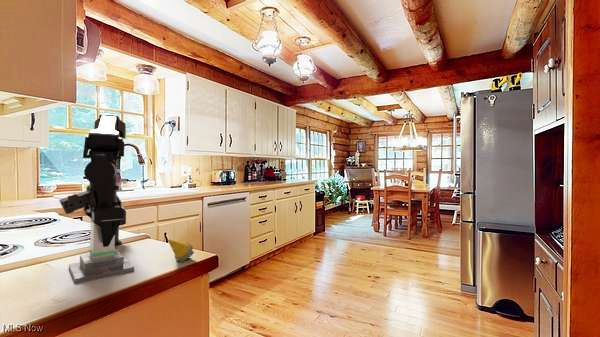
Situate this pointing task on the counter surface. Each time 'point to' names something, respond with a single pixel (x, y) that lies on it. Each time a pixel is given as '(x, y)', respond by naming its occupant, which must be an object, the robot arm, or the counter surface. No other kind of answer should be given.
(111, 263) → the stand
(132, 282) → the counter surface
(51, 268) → the counter surface
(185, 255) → the yellow-green tapered piece
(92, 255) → the column
